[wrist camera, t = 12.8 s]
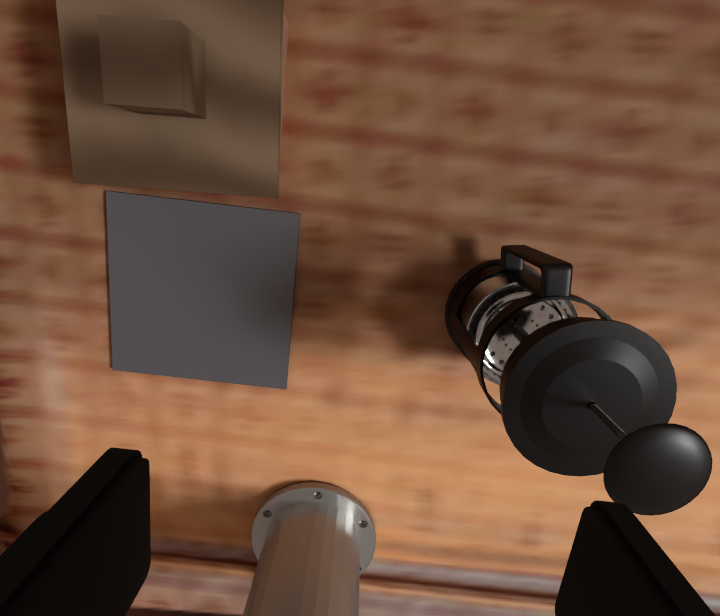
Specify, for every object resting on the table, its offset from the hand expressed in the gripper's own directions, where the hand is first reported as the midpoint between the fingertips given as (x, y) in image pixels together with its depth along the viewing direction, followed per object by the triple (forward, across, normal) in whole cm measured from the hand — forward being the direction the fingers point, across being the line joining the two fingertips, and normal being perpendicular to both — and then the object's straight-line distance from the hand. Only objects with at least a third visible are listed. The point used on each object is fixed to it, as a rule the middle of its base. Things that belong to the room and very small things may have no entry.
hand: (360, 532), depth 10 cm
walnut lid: (+25, +14, -12) cm, 31 cm away
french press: (+31, -12, +2) cm, 33 cm away
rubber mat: (+30, +14, +4) cm, 34 cm away
